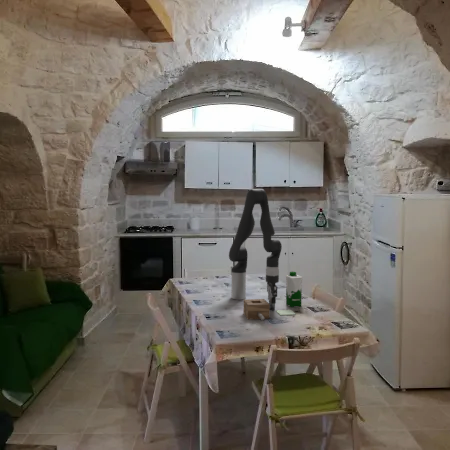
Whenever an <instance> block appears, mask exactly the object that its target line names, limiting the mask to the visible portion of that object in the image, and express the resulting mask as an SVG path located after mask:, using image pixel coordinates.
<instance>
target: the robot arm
mask: <svg viewBox="0 0 450 450" xmlns="http://www.w3.org/2000/svg"><path fill="white" fill-rule="evenodd" d="M268 198H269V197H268V193H267V192H266V190H265V189H263V188H252V189H251V188H250V189H249V190H248V191H247V193H246V197H245V202H244V207H243V211H242V214H241V217H240V221H239V223H238V227H237V231H236V233H235V237H234V240H233V241H232V243H231V246H230V249H229V252H228V258H229V260H230V261H231V262H233V263H236V262H237V263H236V264H235V265H233V266H232V267H231V292H230V293H231V297H230V298H231V299H232V300H246V299H247V298H246V297H247V296H246V293H247V292H246V291H247V288H246V286H247V285H246V284H247V267H248V251H247V248H246V247H244V246H243V244H244V243H245V242H246V240H248V239H249V238H250V237H251V235H252V233H253V231H254V227H255V225H256V221H255V217H254V214H253V212H254V208H255V205H259V206H260V209H261V215H260V221H259V224H260V230H261V232H262V233H261V234H262V241H263V243H262V245H263V249H264V250H265V252H267V253H270V255H268V256H267V257H266V260H265V261H266V267H265V282H266V283H267V284H266V285H267V286H266V292H267V294H268V298H267V299H268V301H269V290H268V287H269V289H270V293H271V295H272V304H275V305H276V303H277V301H276V299H277V298H278V286H277V284H278V283H279V280H280V279H279V277H280V269H279V268H280V267H279V264H280V263H279V260H280V256H281V252H282V248H283V247H282V242H281V241H280V240H279V239H272V237H274V236H275V234H276V233H275V229H274V225H273V222H272V218H271V212H270V207H269V206H270V205H269V199H268ZM274 294H275V295H274Z"/></svg>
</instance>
